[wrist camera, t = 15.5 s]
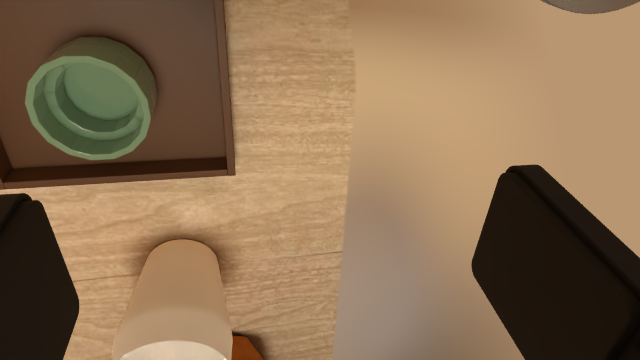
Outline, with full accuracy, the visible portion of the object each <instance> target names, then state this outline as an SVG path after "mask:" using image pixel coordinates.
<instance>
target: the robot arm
mask: <svg viewBox="0 0 640 360" xmlns="http://www.w3.org/2000/svg"><path fill="white" fill-rule="evenodd" d="M472 272H473V275H474V277H475V278H476V280H477V282H478V283H479V285H480V287H481V288H482V290H483V292H484V293H485V295H486V297H487V298H488V300H489V302H490V303H491V305H492V306H493V308H494V310H495V311H496V313H497V315H498V316H499V318H500V319H501V321H502V323H503V324H504V326H505V328H506V329H507V331H508V333H509V334H510V336H511V337H512V339H513V340H514V342H515V344H516V346H517V347H518V349H519V350H520V352H521V354H522V355H523V357H524V359H525V360H640V258H639V257H638V256H637V255H636V254H635V253H634V252H633V251H631V250H630V249H629V248H628V247H627V246H626V245H625V244H624V243H623V242H622V241H621V240H620V239H619V238H617V237H616V236H615V235H614V234H613V233H612V232H611V231H610V230H609V229H608V228H607V227H605V225H603V224H602V223H601V222H600V221H599V220H598V219H597V218H596V217H595V216H594V215H593V214H592V213H591V212H589V211H588V210H587V209H586V208H585V207H584V206H583V205H582V204H581V203H580V202H579V201H578V200H577V199H575V198H574V197H573V196H572V195H571V194H570V193H569V192H568V191H567V190H565V188H564V187H562V186H561V185H560V184H559V183H558V182H557V181H556V180H555V179H554V178H553V177H552V176H551V175H550V174H549V173H547V172H546V171H545V170H544V169H543V168H542V167H541V166H539V165H521V166H511V167H509V168H508V169H507V170H506V173H503V174H502V175H500V177H499V179H498V182H497V185H496V188H495V191H494V194H493V198H492V201H491V204H490V207H489V210H488V213H487V216H486V219H485V223H484V225H483V228H482V231H481V235H480V238H479V241H478V244H477V247H476V250H475V253H474V256H473V259H472ZM78 314H79V299H78V295H77V293H76V290H75V288H74V285H73V282H72V280H71V277H70V275H69V272H68V269H67V267H66V264H65V262H64V259H63V256H62V254H61V251H60V249H59V246H58V243H57V241H56V238H55V236H54V233H53V230H52V228H51V225H50V223H49V220H48V217H47V215H46V212H45V209H44V207H43V205H42V203H41V202H40V201H37V200H34V201H32V199H31V197H30V196H29V195H28V194H25V193H21V194H3V195H0V360H63V358H64V355H65V352H66V349H67V346H68V343H69V340H70V337H71V335H72V332H73V329H74V326H75V323H76V320H77V317H78Z"/></svg>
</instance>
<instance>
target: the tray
mask: <svg viewBox="0 0 640 360" xmlns="http://www.w3.org/2000/svg"><path fill="white" fill-rule="evenodd" d="M78 37H105V38H108V39H111V40H113V41H116V42H119V43H122V44H125V45H126V46H128V47H129V48H130V49H131V50H133V51H134V52H135V53H136V54H138V55H139V56H140V57H141V58H143V60H144V61H145V62H146V64H147V66H148V67H149V69H150V70H151V72H152V74H153V75H154V77H155V81H156V87H157V93H158V97H157V101H156V104H155V108H154V111H153V115H152V118H151V122H150V125H149V128H148V132H147V135H146V137H145V139H144V140H143V141H142V142H141V143H140V144H139V145H138V146H137V147H136V148H135V149H134V150H133V151H132V152H130V153H127V154H125V155H122V156H120V157H118V158H115V159H106V160H88V159H85V158H81V157H77V156H73V155H69V154H67V153H65V152H64V151H62V150H60V149H59V148H57V147H55V146H54V145H52V144H50V143H49V142H47V141H46V140H45V138H44V137H43V136H42V135H41V134H40V133H39V131H38V130H37V129H36V128H35V127H34V126H33V125H32V123H31V120H30V117H29V114H28V111H27V108H26V105H25V97H26V90H27V83H28V81H29V80H30V78H31V77H32V76H33V75H34V73H35V72H36V71H37V70H38V68H39V67H40V66H41V65H42V64H43V63H44V62H45V61H46V60H47V59H48V58H49V57H50V56H51V55H52V54H53V53H54V52H55V51H56V50H57V49H58V47H59V46H61V45H62V44H65V43H67V42H69V41H71V40H74V39H76V38H78ZM227 175H228V176H232V175H235V157H234V143H233V129H232V114H231V100H230V86H229V71H228V57H227V42H226V28H225V14H224V0H0V190H3V189H19V188H35V187H51V186H68V185H84V184H100V183H117V182H133V181H149V180H166V179H182V178H198V177H214V176H227Z"/></svg>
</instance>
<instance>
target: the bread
mask: <svg viewBox="0 0 640 360" xmlns="http://www.w3.org/2000/svg"><path fill="white" fill-rule="evenodd" d="M232 338H233V343H232V357H231V360H264V359H263V358H262V357H261V356H260V354H259V353H258V352H257V350H256V349H255V348H254V346H253V345H252V344H251V342H250V341H249V340H248V339H247V337H241V336H232Z"/></svg>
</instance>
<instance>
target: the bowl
mask: <svg viewBox="0 0 640 360" xmlns="http://www.w3.org/2000/svg"><path fill="white" fill-rule="evenodd" d="M157 97H158V93H157V87H156V81H155V77H154V75H153V74H152V72H151V70H150V69H149V67H148V66H147V64H146V62H145V61H144V60H143V58H141V57H140V56H139V55H138V54H136V53H135V52H134V51H133V50H131V49H130V48H129V47H128V46H126V45H125V44H122V43H119V42H116V41H113V40H111V39H108V38H105V37H78V38H76V39H74V40H71V41H69V42H67V43H65V44H62V45H61V46H59V47H58V49H57V50H56V51H55V52H54V53H53V54H52V55H51V56H50V57H49V58H48V59H47V60H46V61H45V62H44V63H43V64H42V65H41V66H40V67H39V68H38V70H37V71H36V72H35V73H34V75H33V76H32V77H31V78H30V80H29V81H28V83H27V90H26V97H25V105H26V108H27V111H28V114H29V117H30V120H31V123H32V125H33V126H34V127H35V128H36V129H37V130H38V131H39V133H40V134H41V135H42V136H43V137H44V138H45V140H46V141H47V142H49V143H50V144H52V145H54V146H55V147H57V148H59V149H60V150H62V151H64V152H65V153H67V154H69V155H73V156H77V157H81V158H85V159H88V160H106V159H115V158H118V157H120V156H122V155H125V154H127V153H130V152H132V151H133V150H134V149H135V148H136V147H137V146H138V145H139V144H140V143H141V142H142V141H143V140H144V139H145V137H146V135H147V132H148V128H149V125H150V122H151V118H152V115H153V111H154V108H155V104H156V101H157Z"/></svg>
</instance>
